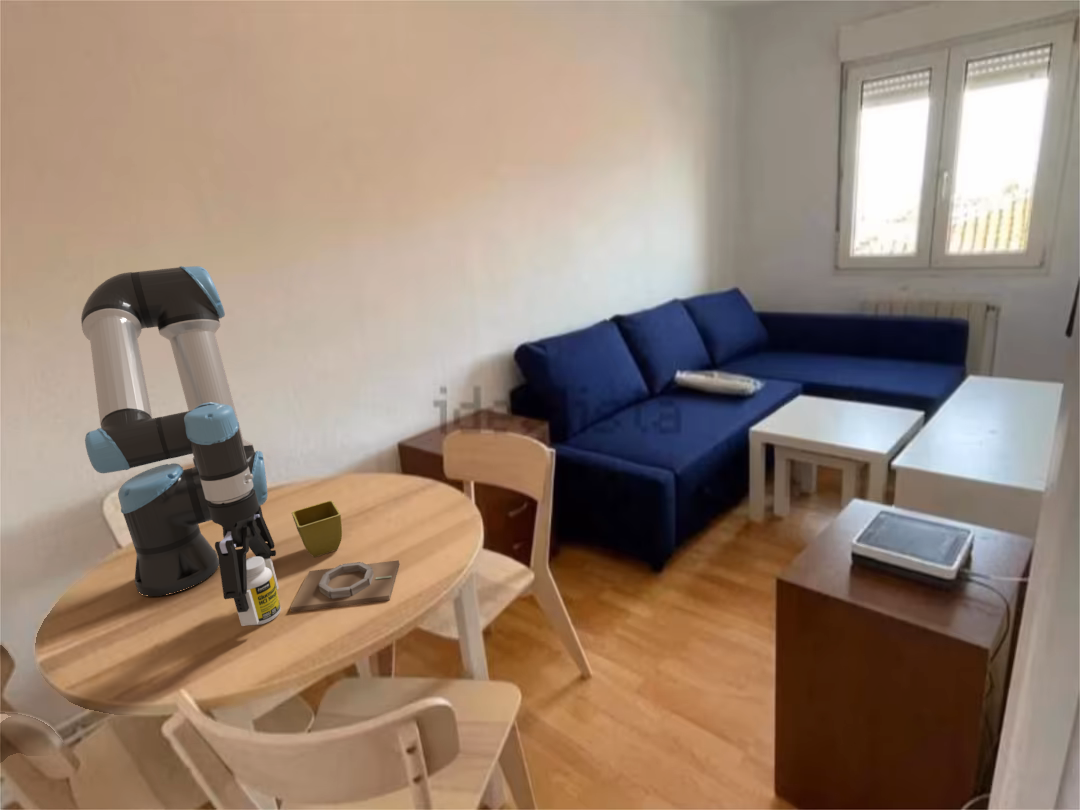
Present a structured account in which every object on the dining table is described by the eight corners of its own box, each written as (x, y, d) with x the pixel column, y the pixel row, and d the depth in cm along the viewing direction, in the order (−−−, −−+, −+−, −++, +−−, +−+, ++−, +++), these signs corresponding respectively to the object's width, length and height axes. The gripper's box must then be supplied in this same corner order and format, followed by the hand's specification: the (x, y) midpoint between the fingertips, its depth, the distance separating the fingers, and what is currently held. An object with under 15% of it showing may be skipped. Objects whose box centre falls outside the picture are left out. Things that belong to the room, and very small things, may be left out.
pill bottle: (268, 627, 105) (253, 573, 102) (237, 625, 107) (222, 572, 103) (288, 605, 111) (275, 554, 108) (259, 604, 112) (245, 553, 109)
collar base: (291, 612, 109) (288, 601, 108) (310, 575, 120) (308, 564, 120) (389, 600, 110) (387, 588, 109) (399, 564, 121) (397, 554, 121)
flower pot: (349, 551, 128) (341, 513, 126) (307, 565, 124) (298, 527, 122) (339, 535, 136) (331, 499, 133) (299, 548, 132) (290, 511, 129)
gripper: (225, 523, 91) (259, 644, 98) (275, 466, 112) (300, 569, 119) (175, 528, 91) (212, 650, 97) (235, 471, 112) (262, 574, 119)
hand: (261, 605), depth 108 cm, fingers open, 9 cm apart
